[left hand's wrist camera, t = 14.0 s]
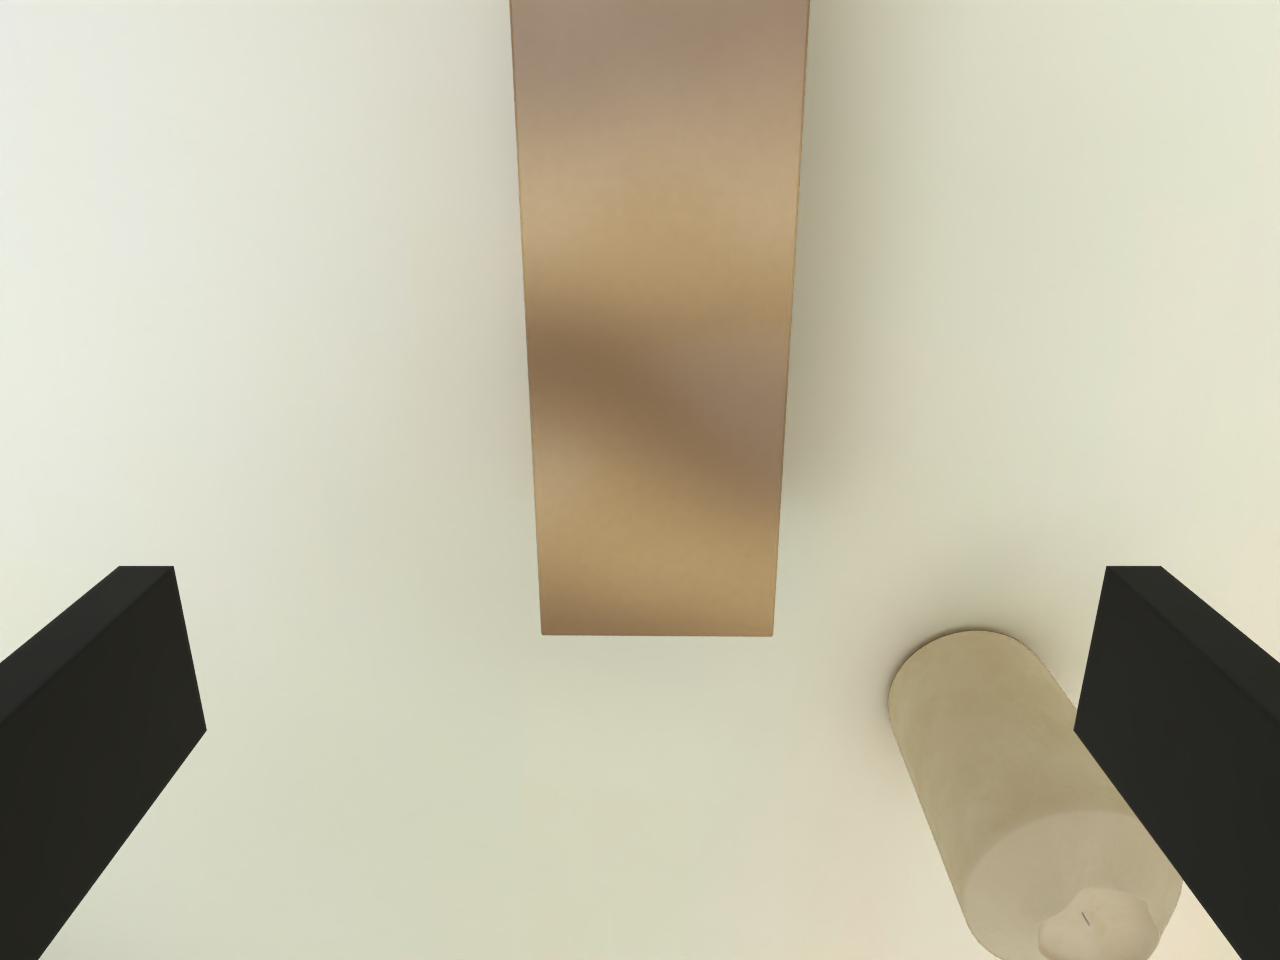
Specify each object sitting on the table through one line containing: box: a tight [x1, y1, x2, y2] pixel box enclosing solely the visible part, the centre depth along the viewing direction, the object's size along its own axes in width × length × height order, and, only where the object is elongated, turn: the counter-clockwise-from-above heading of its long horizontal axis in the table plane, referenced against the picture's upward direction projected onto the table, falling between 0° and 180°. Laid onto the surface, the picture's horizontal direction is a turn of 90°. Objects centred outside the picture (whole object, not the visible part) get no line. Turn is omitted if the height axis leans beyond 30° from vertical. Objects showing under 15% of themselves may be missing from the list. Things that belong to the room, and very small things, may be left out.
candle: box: [888, 631, 1182, 960], centre depth 26 cm, size 6×6×10 cm
